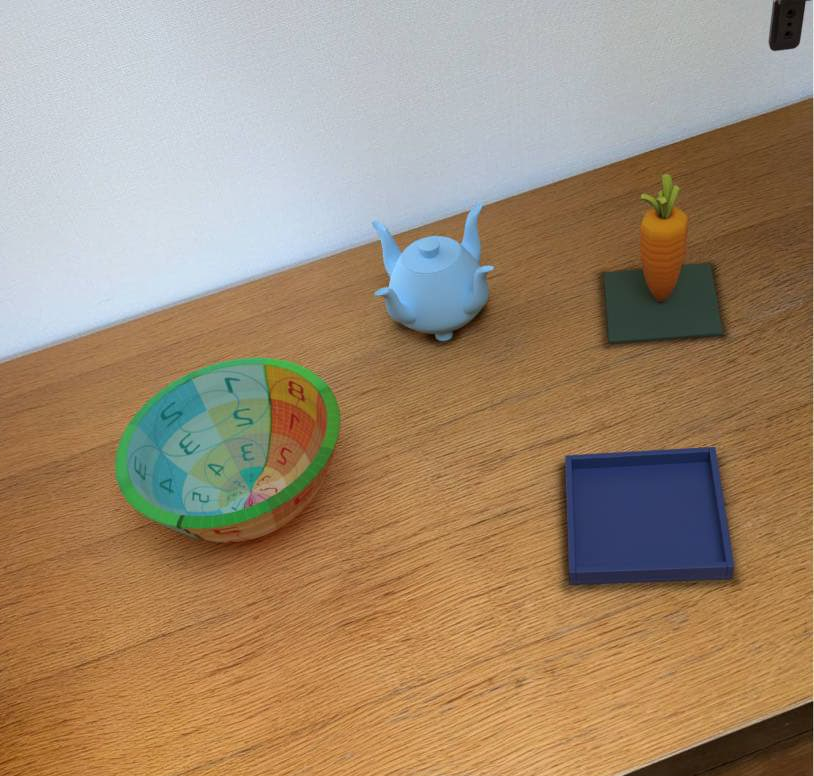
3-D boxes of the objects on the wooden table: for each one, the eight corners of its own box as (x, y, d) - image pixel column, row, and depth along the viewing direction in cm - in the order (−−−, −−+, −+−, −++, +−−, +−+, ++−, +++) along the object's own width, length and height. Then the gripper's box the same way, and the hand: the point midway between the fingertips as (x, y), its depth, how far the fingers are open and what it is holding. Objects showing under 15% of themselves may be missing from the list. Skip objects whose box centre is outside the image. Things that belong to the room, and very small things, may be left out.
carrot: (667, 321, 108) (673, 202, 97) (629, 306, 111) (630, 188, 99) (693, 296, 110) (701, 176, 99) (654, 282, 113) (659, 163, 101)
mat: (710, 265, 114) (710, 262, 113) (722, 335, 106) (723, 332, 106) (603, 275, 116) (603, 272, 115) (608, 344, 108) (608, 341, 108)
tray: (713, 459, 96) (715, 446, 95) (732, 579, 88) (734, 566, 86) (565, 468, 99) (565, 455, 97) (569, 584, 90) (569, 572, 89)
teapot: (491, 273, 119) (483, 200, 112) (503, 345, 111) (494, 271, 103) (386, 290, 121) (370, 219, 113) (389, 363, 112) (373, 291, 105)
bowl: (224, 406, 113) (195, 339, 105) (397, 449, 104) (379, 379, 96) (110, 555, 102) (68, 492, 94) (293, 617, 93) (263, 553, 85)
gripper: (888, -199, 61) (842, 60, 74) (843, -269, 70) (809, -26, 82) (761, -178, 62) (737, 73, 75) (732, -249, 71) (715, -13, 83)
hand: (774, 21), depth 78 cm, fingers open, 8 cm apart
